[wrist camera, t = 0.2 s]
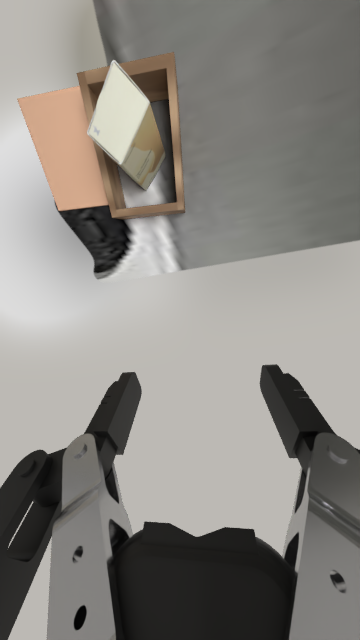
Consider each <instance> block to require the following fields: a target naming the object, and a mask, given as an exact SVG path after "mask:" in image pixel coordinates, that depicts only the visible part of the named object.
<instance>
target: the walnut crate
mask: <svg viewBox="0 0 360 640" xmlns="http://www.w3.org/2000/svg"><path fill="white" fill-rule="evenodd" d="M119 65H120V67H121V68H122V69H123V70H124V71H125V72H126V73H127V75H128V76H129V77H130V78H131V79H132V80H133V82H134V83H135V84H136V85H137V86H138V88H139V89H140V90H141V91H142V93H143V94H144V95H145V96H146V97H147V99H148V100H149V102H155V101H160V100H165V99H169V106H170V119H171V131H172V144H173V157H174V169H175V182H176V195H177V202H176V203H168V204H160V205H151V206H143V207H134V208H126V205H125V200H124V196H123V191H122V186H121V181H120V176H119V171H118V166H117V163H116V162H115V161H114V160H113V159H112V158H111V157H110V156H109V155H108V154H107V153H106V152H105V151H104V150H103V149H102V148H101V147H100V146H99V145H98V144H97V143H96V142H95V141H94V140H93V142H94V146H95V150H96V154H97V158H98V162H99V166H100V170H101V174H102V179H103V183H104V187H105V191H106V195H107V199H108V203H109V207H110V211H111V215H112V218H117V219H132V218H141V217H150V216H159V215H168V214H177V213H185V201H184V184H183V168H182V151H181V135H180V118H179V102H178V86H177V76H176V67H175V57H174V52H172V53H167V54H163V55H158V56H153V57H149V58H144V59H139V60H135V61H130V62H126V63H121V64H119ZM109 69H110V66H107V67H102V68H99V69H94V70H89V71H84V72H80V73H77V76H78V80H79V85H80V89H81V93H82V97H83V101H84V105H85V109H86V113H87V117H88V121H89V125H90V122H91V120H92V117H93V114H94V111H95V108H96V105H97V101H98V98H99V95H100V93H101V91H102V88H103V85H104V83H105V80H106V77H107V74H108V71H109Z"/></svg>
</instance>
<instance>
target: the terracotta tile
mask: <svg viewBox="0 0 360 640" xmlns="http://www.w3.org/2000/svg"><path fill="white" fill-rule="evenodd" d="M17 100H18V102H19V105H20V108H21V111H22V113H23V116H24V118H25V121H26V124H27V127H28V129H29V132H30V135H31V137H32V140H33V143H34V145H35V148H36V151H37V154H38V156H39V159H40V162H41V164H42V167H43V170H44V172H45V175H46V178H47V181H48V183H49V186H50V189H51V191H52V194H53V197H54V199H55V202H56V205H57V207H58V210H59V211H65V210H73V209H82V208H90V207H98V206H106V205H109V203H108V199H107V195H106V191H105V187H104V183H103V179H102V174H101V170H100V166H99V162H98V158H97V154H96V150H95V146H94V142H93V139H92V138H91V137H90V136H89V135H88V134H87V130H88V128H89V121H88V117H87V113H86V109H85V105H84V101H83V97H82V93H81V89H80V86H77V87H72V88H67V89H62V90H57V91H52V92H48V93H43V94H38V95H33V96H29V97H23V98H19V99H17Z"/></svg>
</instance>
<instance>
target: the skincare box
mask: <svg viewBox="0 0 360 640" xmlns="http://www.w3.org/2000/svg"><path fill="white" fill-rule="evenodd" d="M87 134H88V135H89V136H90V137H91V138H92V139H93V140H94V141H95V142H96V143H97V144H98V145H99V146H100V147H101V148H102V149H103V150H104V151H105V152H106V153H107V154H108V155H109V156H110V157H111V158H112V159H113V160H114V161H115V162H116V163H117V164H118V165H119V166H120V167H121V168H122V169H123V170H124V171H125V172H126V173H127V174H128V175H129V176H130V177H131V178H132V179H133V180H134V181H135V182H136V183H137V184H138V185H139V186H141V187H142V188H143V189H144V190H145V191H146V190H147V189H148V187H149V186H150V184H151V182H152V181H153V179H154V177H155V175H156V174H157V172H158V170H159V168H160V166H161V164H162V162H163V160H164V158H165V156H166V154H165V151H164V147H163V144H162V141H161V138H160V134H159V131H158V128H157V125H156V121H155V118H154V115H153V111H152V108H151V105H150V102H149V100H148V99H147V97H146V96H145V95H144V94H143V93H142V91H141V90H140V89H139V88H138V86H137V85H136V84H135V83H134V82H133V80H132V79H131V78H130V77H129V76H128V75H127V73H126V72H125V71H124V70H123V69H122V68H121V67H120V65H119V64H118V63H117V62H116V61H115V60H113V61H112V63H111V66H110V69H109V71H108V74H107V77H106V80H105V83H104V85H103V88H102V91H101V93H100V95H99V98H98V101H97V105H96V108H95V111H94V114H93V117H92V120H91V122H90V125H89V128H88V130H87Z"/></svg>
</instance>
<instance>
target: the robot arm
mask: <svg viewBox="0 0 360 640" xmlns="http://www.w3.org/2000/svg"><path fill="white" fill-rule="evenodd" d="M260 388H261V392H262V394H263V397H264V399H265V401H266V404H267V406H268V409H269V411H270V413H271V416H272V418H273V420H274V423H275V425H276V428H277V430H278V432H279V435H280V437H281V439H282V442H283V444H284V446H285V449H286V451H287V453H288V456H289V458H298V460H299V462H300V465H301V471H300V476H299V481H298V486H297V492H296V497H295V502H294V507H293V513H292V517H291V520H290V523H289V527H288V531H287V535H286V540H285V545H284V550H283V555H282V556H281V555H280V554H279V553H278V552H277V551H276V550H275V549H273V548H272V547H271V546H270V545H268V544H267V543H266V542H264V541H263V540H261V539H259V538H257V537H255V532H254V530H253V529H241V528H228V527H227V528H226V527H225V528H222V529H219V530H216V531H214V532H211V533H208V534H206V535H203V536H200V537H195V536H193V535H191V534H189V533H187V532H185V531H183V530H181V529H179V528H177V527H176V526H174V525H172V524H170V523H157V522H144V528H143V530H140V531H139V532H137V533H135V534H134V535H133V533H132V529H131V525H130V521H129V518H128V515H127V513H126V510H125V508H124V506H123V502H122V498H121V493H120V489H119V484H118V480H117V475H116V471H115V467H114V463H113V461H114V458H115V455H123V453H124V449H125V447H126V443H127V440H128V437H129V433H130V430H131V427H132V424H133V421H134V417H135V414H136V411H137V407H138V404H139V401H140V398H141V386H140V383H139V381H138V378H137V376H136V373H135V372H127V373H122V374H121V376H120V378H119V380H118V381H115V382H114V383H113V384H112V385H111V386H110V387H109V388H108V390H107V392H106V394H105V396H104V398H103V399H102V401H101V404H100V405H99V407H98V409H97V411H96V413H95V415H94V417H93V418H92V420H91V422H90V424H89V426H88V428H87V430H86V432H85V433H84V434H83V435H81V436H79V437H77V438H76V439H75V440H74V441H73V442H72V443H71V444H70V445H69V446H68V447H67V448H65V449H62V450H59V451H56V452H54V453H51V454H47V453H46V452H45V451H43V450H37V451H34V452H32V453H30V454H29V455H27V456H26V457H25V458H24V459H22V460H21V461H20V462H19V463H18V464H17V466H16V467H15V468H14V470H13V471H12V472H11V474H10V475H9V477H8V478H7V480H6V481H5V482H4V484H3V485H2V487H1V488H0V640H8V637H9V635H10V633H11V630H12V628H13V626H14V623H15V621H16V619H17V616H18V614H19V612H20V609H21V607H22V605H23V602H24V600H25V597H26V595H27V593H28V590H29V588H30V586H31V583H32V581H33V579H34V576H35V574H36V572H37V569H38V567H39V565H40V562H41V560H42V558H43V555H44V553H45V551H46V548H47V546H48V543H49V541H50V539H51V536H52V548H51V567H50V586H49V607H48V627H47V640H360V450H358V449H356V448H354V447H353V446H352V445H351V444H350V443H349V442H347V441H346V440H344V439H343V438H341V437H339V436H337V435H336V434H335V433H334V432H333V430H332V429H331V427H330V426H329V425H328V423H327V422H326V420H325V419H324V417H323V416H322V415H321V413H320V412H319V410H318V409H317V407H316V406H315V404H314V403H313V402H312V400H311V399H310V398H309V396H308V394H307V393H306V392H305V391H304V389H303V388H302V386H301V384H300V383H299V382H298V380H296V379H295V378H294V377H292V376H291V375H290V374H289V373H286V374H283V372H282V371H281V369H280V368H279V366H278V365H263V366H262V371H261V378H260ZM32 501H33V502H34V503H33V504H32V506H31V508H30V510H29V512H28V513H27V515H26V517H25V519H24V521H23V522H22V525H21V526H20V528H19V530H18V532H17V533H16V535H15V537H14V539H13V541H12V543H11V545H10V546H9V543H10V541H11V539H12V537H13V535H14V534H15V532H16V530H17V528H18V526H19V525H20V523H21V521H22V519H23V517H24V515H25V514H26V512H27V510H28V508H29V506H30V505H31V503H32ZM8 546H9V548H8ZM7 549H8V550H7Z"/></svg>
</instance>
